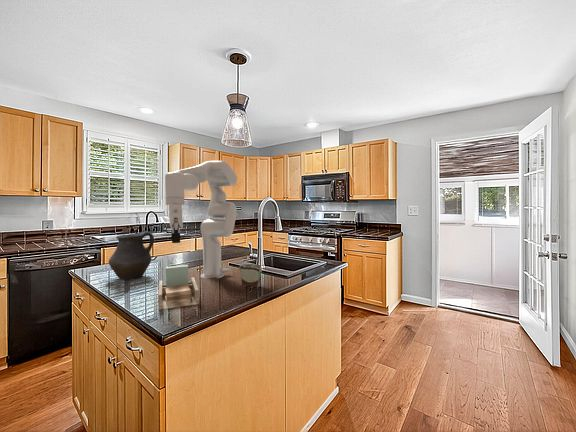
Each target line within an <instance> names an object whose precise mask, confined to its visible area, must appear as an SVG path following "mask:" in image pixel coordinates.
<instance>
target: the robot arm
mask: <svg viewBox="0 0 576 432" xmlns="http://www.w3.org/2000/svg"><path fill="white" fill-rule="evenodd" d="M237 176H238V175H237V173H236V172H235V170H234V169H233V168H232V166H231V165H230V164H229V163H228V162H227V161H225V160H207V161H204V162H202V163H200V164H198V165H195V166H192V167H188V168H183V169H178V170H176V171H174V172H173V171H172V172H171V171H170V172H166V173H165V175H164V189H165V190H164V191H165V195H164V196H165V206H168V220H169V226H170V227H169V228H170V229H171V233H170V234H171V237H170V238H171V243H172V244H180V243H181V232H180V231H181V230H180V228H181V229H183V227H184V224H183V223H184V222H183V217H184V216H183V206H184V205H185V192H186V191H187V192H189V191H195V190H196V189H197V188H198V187H199V184H202V183H204V182H206V181H207V184H208V186H209V190H210V192H211V193H210V194H211V195H210V201H209V204H208V209H207V216H208V219H206V220H203V221H202V222H201V223H200V232H201V239H202V264H203V265H202V266H203V269H202V270H203V273H201V274H200V279H210V278H216V279H218V280H219V279H221V278H223V277H225V273H230V272H231V269H230V268H223V267H222V245H221V242H220V240H219V238H229V237H231V236H232V235H233V233H234V228H235V223H236V218H237V213H238V212H237V211H238V210H237V206H236V204H235V203H234V202H231V201H227V193H226V192H225V191H224V190H223V188H222V187H234V186H235V185H236V184H237V182H238V177H237Z"/></svg>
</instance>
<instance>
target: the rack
mask: <svg viewBox="0 0 576 432" xmlns="http://www.w3.org/2000/svg"><path fill="white" fill-rule="evenodd" d="M158 282H159V283H158V294H157V297H158V310H166V309H171V308H179V307H185V306H187V307H188V306H193V305H199V304H200V299H199V297H200V293H199V292H200V290H199V288H198V284H197V282H196V280H195V277H194V276H192V277H190V281H188V282H189V284H188V285H189V288H190V289H191V302H186V303H180V304H173V305H167V306H166V301H165V296H166V292H165V288H172V287H179V286H171V287H166V283H165V284H163V280H159V281H158ZM180 286H187V285H180Z"/></svg>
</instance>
